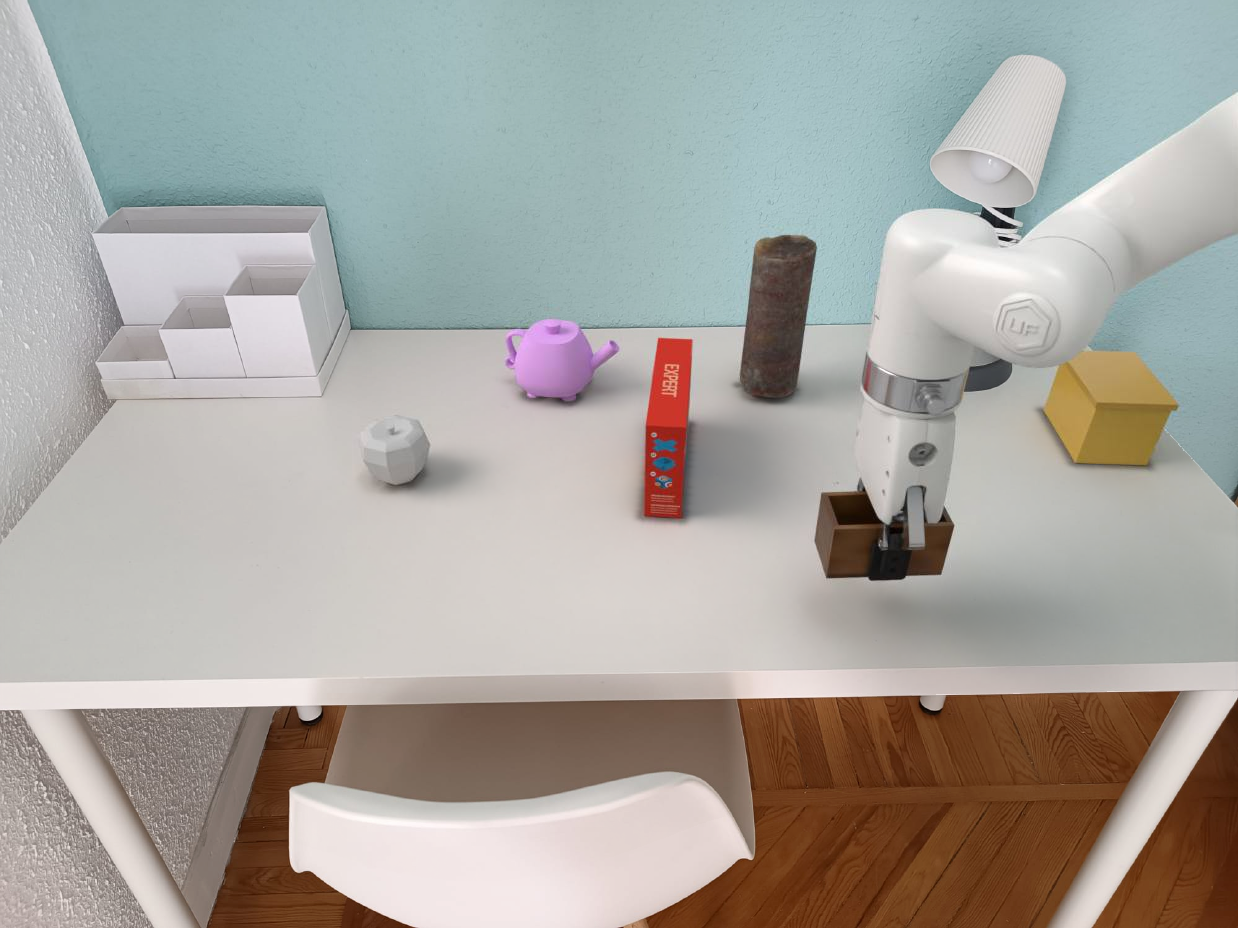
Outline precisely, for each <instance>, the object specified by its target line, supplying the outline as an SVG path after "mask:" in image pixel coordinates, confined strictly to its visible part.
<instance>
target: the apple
mask: <svg viewBox="0 0 1238 928" xmlns="http://www.w3.org/2000/svg"><path fill="white" fill-rule="evenodd" d="M357 447H358V450H359V452H360V455H361V459H362V462H363V464H364V465H365V466H366V468H367V470H368V471H369V473H370V475H372V476H373V477H374V478H376V479H377V480H378V481H380V482H383V483H386V484H390V485H395V486H399V485H403V484H406V483H410V482H411V481H413V480H414V479H415V478H416V477H417V475H419V473H420V472H421V471H422V470H423V468H424V466H425V464H426V463H427V461H428V457H429V452H430V449H431V448H430V447H431V442H430V440H429V439H428V436H427V434H426V432H425V430H424V428H423V426H422V424H421V422H420V420H419V419H415V418H411V417H406V416H401V415H397V414H396V415H392V416H387V417H383V418H379V419H375V420H373V421H372V422H371V423H370V424H368V425H367V427H365V428H364V429H363V431H361V432H359V435H358V443H357Z"/></svg>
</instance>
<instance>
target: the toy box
mask: <svg viewBox="0 0 1238 928" xmlns="http://www.w3.org/2000/svg"><path fill="white" fill-rule="evenodd" d="M693 343H694V339H693V338H675V337H674V338H673V337H672V338H671V337H657V341H656V350H655V357H654V363H653V364H654V365H653V370H652V377H651V384H650V392H649V399H648V406H647V412H646V418H645V419H646V420H645V433H644V434H645V435H644V437H645V439H644V440H645V441H644V498H643V499H644V507H643V508H644V510H643V511H644V512H643V516H644V517H656V518H671V519H682V518H683V509H684V494H685V479H686V467H687V454H688V453H687V451H688V438H689V425H690V423H689V422H690V405H691V385H692V368H693V367H692V364H693V348H694V347H693V345H694V344H693Z"/></svg>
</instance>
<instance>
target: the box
mask: <svg viewBox="0 0 1238 928" xmlns="http://www.w3.org/2000/svg"><path fill="white" fill-rule="evenodd" d="M1179 406H1180V404H1179V403H1178V401H1177V400H1176V399H1175V398H1174V397H1173V395H1171V393H1170V392H1169V391H1168V390H1167V388H1166V387H1165V386H1164V385H1163V384H1162V382H1160V380H1159V379H1158V378H1157V377H1156V376H1155V374H1154V373H1153V372H1152V371H1151V370H1150V368H1149V367H1148V366H1147V365H1146V363H1145V362H1144V361H1143V360H1142V359H1141V358H1140V356H1139V355H1138V354H1137V352H1136V351H1121V350H1120V351H1117V350H1116V351H1114V350H1111V351H1110V350H1083V351H1082V352H1081V353H1080V354H1079V355H1077V356H1076V357H1075V358H1073V359H1072V360H1070V361H1068V362H1066V363H1063V364H1061V365H1058V366H1057V370H1056V373H1055V377H1054V379H1053V382H1052V385H1051V388H1050V390H1049V394H1048V396H1047V399H1046V403H1045V406H1044V409H1043V412H1044V414H1045V415H1046V417H1047V418H1048V421H1049V422H1050V423H1051V426H1052V427H1053V430H1055V432H1056V433H1057V436H1058V437H1059V439H1060V440H1061V442H1062V444H1063V445H1064V447H1065V448H1066V450H1067V452H1068V454H1069V455H1070V457H1071V459H1072V460H1073V462H1074V463H1075V464H1089V465H1091V464H1092V465H1122V466H1123V465H1125V466H1148V465H1149V461H1151V458H1152V455H1153V453H1154V451H1155V449H1156V447H1157V444H1158V442H1159V439H1160V437H1161V435H1162V433H1163V431H1164V428H1165V426H1166V424H1167V422H1168V419H1169V417H1170V416H1171V413H1172V411H1173V412H1176V411H1177V410H1178V408H1179Z"/></svg>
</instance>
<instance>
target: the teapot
mask: <svg viewBox="0 0 1238 928" xmlns="http://www.w3.org/2000/svg"><path fill="white" fill-rule="evenodd" d="M506 334H507V335H506V336H505V346H506V349H507V351H508V354H509V355H507V356H506V357H505V360H504V364H505V366H506V367H507V368H508V369H510V370H514V378H515V380H516V382H517V384H518V386H520V387H521V388H522V389H523V390H524V391H526V392H527V394H526V396H527V397H528V398H532V399H536V398H537V399H538V398H541V397H544V398H561V400H562V401H564V402H573V401H575V400H576V399H577V394H578V393H580V392H581V391H582V390H584V388H586V386H587V385H588V384H589V383H590V381H591V380H592V379H593V376H594V374H595V371H596V370H597V369H599V368H600V367H601V366H602V365H603V364H605V363H606V362H607V361H608V360H610V359H611V358H612V357H614V356H615V355H616V354H618V353H619V352H620V350H621V348H620V347H619V344H617V342H615V341H614V340H609V341H608V342H607V343H605V344H604V345H603V346H602V347H601V348H599V349H598V350H597V351H596V352H595V353H594V352H593V349H592V346H591V344H590V342H589V340H588V338H587V336H586V335H585V333H584V332H583V330H582V328H581V327H580V326H579V325H578V324H577V323H576V322H573V321H571V320H564V319H558V318H549V319H542V320H539V321H536V322H534V323H533V324H532V325H531V326H530V327H528V329H527V330H525V329H522V328H514V329H512V330H510V331H509V332H508V333H506ZM515 336H518V337H522V340H521V341H520V343H519V346H518V348H517V350H516V348H515V346H514V343H513V337H515Z"/></svg>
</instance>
